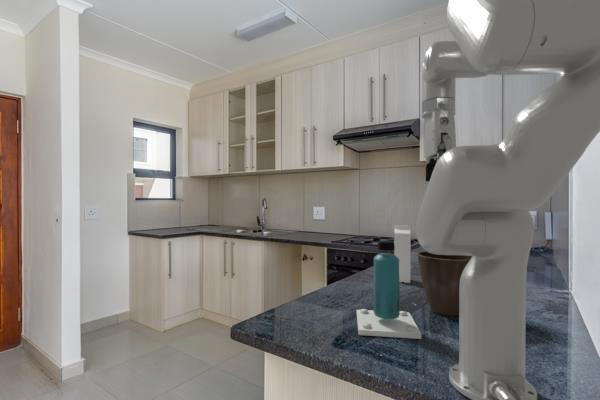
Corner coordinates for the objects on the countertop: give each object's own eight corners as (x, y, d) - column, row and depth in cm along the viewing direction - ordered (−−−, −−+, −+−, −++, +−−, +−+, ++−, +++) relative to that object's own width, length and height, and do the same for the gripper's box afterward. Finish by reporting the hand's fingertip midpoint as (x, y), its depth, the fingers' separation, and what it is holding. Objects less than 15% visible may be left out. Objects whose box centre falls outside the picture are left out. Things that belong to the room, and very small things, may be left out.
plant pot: (424, 299, 101) (424, 249, 101) (478, 309, 93) (478, 254, 93) (410, 313, 89) (411, 255, 89) (471, 325, 80) (471, 262, 80)
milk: (394, 278, 129) (394, 223, 129) (409, 279, 127) (410, 224, 127) (394, 282, 123) (394, 224, 123) (410, 283, 121) (410, 225, 122)
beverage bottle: (401, 326, 76) (401, 243, 76) (372, 324, 78) (373, 242, 78) (398, 317, 83) (399, 239, 83) (372, 315, 84) (372, 238, 84)
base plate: (421, 338, 72) (421, 331, 72) (358, 335, 74) (358, 327, 74) (409, 316, 86) (409, 310, 86) (356, 313, 88) (356, 307, 88)
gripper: (468, 97, 69) (467, 177, 69) (443, 118, 86) (443, 182, 86) (431, 99, 70) (431, 177, 70) (414, 119, 87) (414, 182, 87)
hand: (437, 180), depth 78 cm, fingers open, 9 cm apart
